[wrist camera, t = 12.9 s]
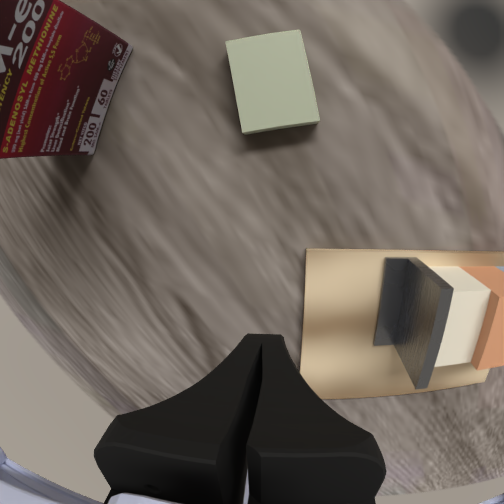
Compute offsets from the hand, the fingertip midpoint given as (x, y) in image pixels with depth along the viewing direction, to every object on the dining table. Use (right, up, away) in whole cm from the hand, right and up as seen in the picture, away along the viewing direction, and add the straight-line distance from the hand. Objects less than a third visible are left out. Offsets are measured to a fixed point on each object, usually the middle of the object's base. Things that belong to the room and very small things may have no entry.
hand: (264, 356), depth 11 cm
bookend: (+9, 0, +8) cm, 13 cm away
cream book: (+12, 0, +8) cm, 15 cm away
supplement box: (-12, +15, +8) cm, 21 cm away
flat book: (+1, +14, +7) cm, 16 cm away
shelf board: (+12, -2, +10) cm, 15 cm away
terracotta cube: (+16, 0, +8) cm, 18 cm away
